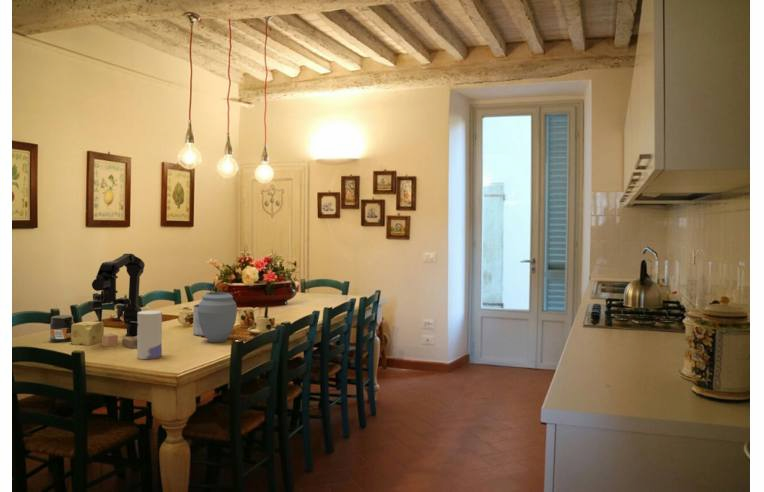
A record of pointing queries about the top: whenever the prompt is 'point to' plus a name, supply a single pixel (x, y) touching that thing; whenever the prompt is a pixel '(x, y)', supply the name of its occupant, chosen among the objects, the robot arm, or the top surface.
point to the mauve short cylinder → (130, 342)
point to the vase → (217, 315)
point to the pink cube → (109, 340)
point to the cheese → (87, 332)
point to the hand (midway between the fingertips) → (109, 320)
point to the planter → (196, 322)
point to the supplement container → (61, 328)
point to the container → (149, 334)
